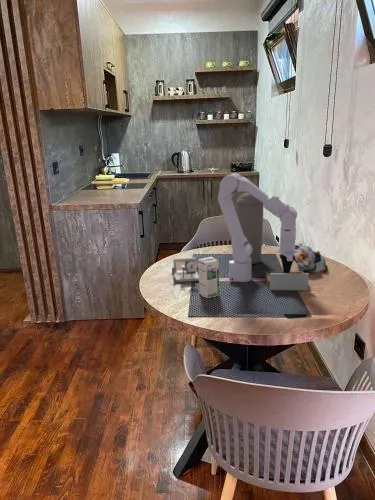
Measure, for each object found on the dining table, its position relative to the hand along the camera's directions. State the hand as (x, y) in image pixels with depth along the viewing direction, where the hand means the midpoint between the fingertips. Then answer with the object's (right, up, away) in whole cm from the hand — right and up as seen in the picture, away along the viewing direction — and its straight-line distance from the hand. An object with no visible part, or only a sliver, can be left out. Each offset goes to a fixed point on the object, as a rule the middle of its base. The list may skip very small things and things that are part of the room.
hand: (286, 272), depth 151 cm
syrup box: (-31, -8, -5) cm, 32 cm away
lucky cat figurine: (+15, 0, +17) cm, 22 cm away
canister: (-9, +4, +32) cm, 34 cm away
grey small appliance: (-39, -4, +14) cm, 42 cm away
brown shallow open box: (0, -5, +1) cm, 5 cm away
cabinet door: (-1, -6, -6) cm, 9 cm away
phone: (-4, -12, -18) cm, 21 cm away
